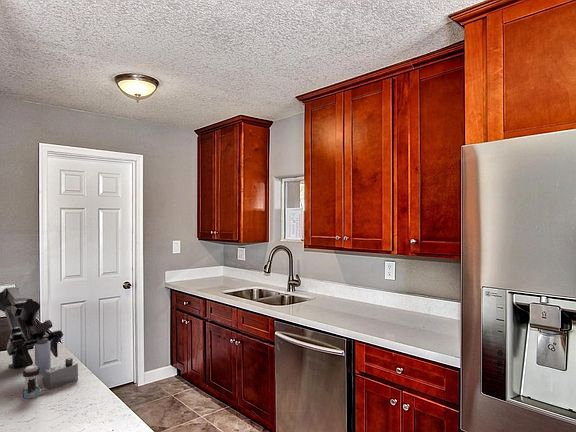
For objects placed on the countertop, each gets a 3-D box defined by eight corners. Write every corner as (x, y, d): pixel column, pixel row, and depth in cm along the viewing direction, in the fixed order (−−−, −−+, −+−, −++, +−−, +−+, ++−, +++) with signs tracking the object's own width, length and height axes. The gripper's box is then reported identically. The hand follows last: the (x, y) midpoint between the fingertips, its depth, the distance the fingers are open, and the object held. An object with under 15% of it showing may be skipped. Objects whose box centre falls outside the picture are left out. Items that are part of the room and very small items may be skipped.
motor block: (36, 384, 154) (36, 362, 154) (64, 375, 163) (64, 354, 163) (50, 389, 150) (49, 366, 150) (77, 379, 158) (77, 358, 158)
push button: (42, 390, 149) (42, 362, 149) (46, 395, 145) (46, 366, 145) (20, 396, 144) (20, 367, 144) (24, 401, 140) (23, 371, 140)
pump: (32, 377, 161) (31, 340, 161) (46, 373, 165) (45, 337, 165) (39, 380, 158) (39, 342, 158) (53, 375, 163) (53, 339, 163)
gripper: (10, 319, 156) (26, 354, 150) (60, 310, 172) (76, 341, 166) (0, 338, 160) (15, 372, 154) (50, 326, 176) (65, 357, 170)
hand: (44, 360), depth 161 cm, fingers open, 9 cm apart
